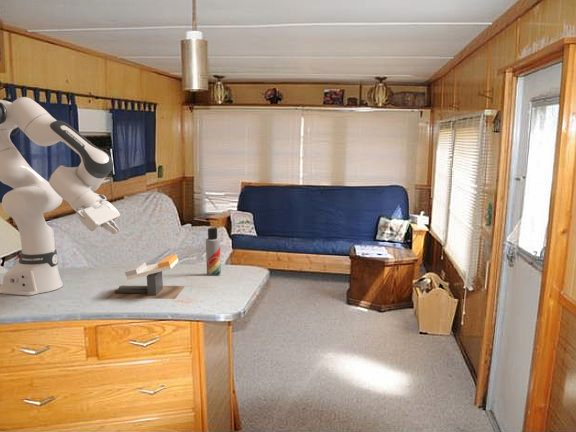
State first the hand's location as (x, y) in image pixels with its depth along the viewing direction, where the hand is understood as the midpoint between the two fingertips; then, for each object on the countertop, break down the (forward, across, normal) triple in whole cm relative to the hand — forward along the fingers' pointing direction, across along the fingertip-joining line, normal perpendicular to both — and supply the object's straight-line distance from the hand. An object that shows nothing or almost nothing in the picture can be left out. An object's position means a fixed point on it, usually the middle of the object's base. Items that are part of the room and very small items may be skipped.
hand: (117, 232), depth 172 cm
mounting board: (+23, 0, +10) cm, 25 cm away
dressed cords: (+19, 0, +12) cm, 22 cm away
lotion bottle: (+36, +26, -4) cm, 45 cm away
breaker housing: (+24, 0, +6) cm, 25 cm away
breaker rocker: (+19, 0, +2) cm, 19 cm away
